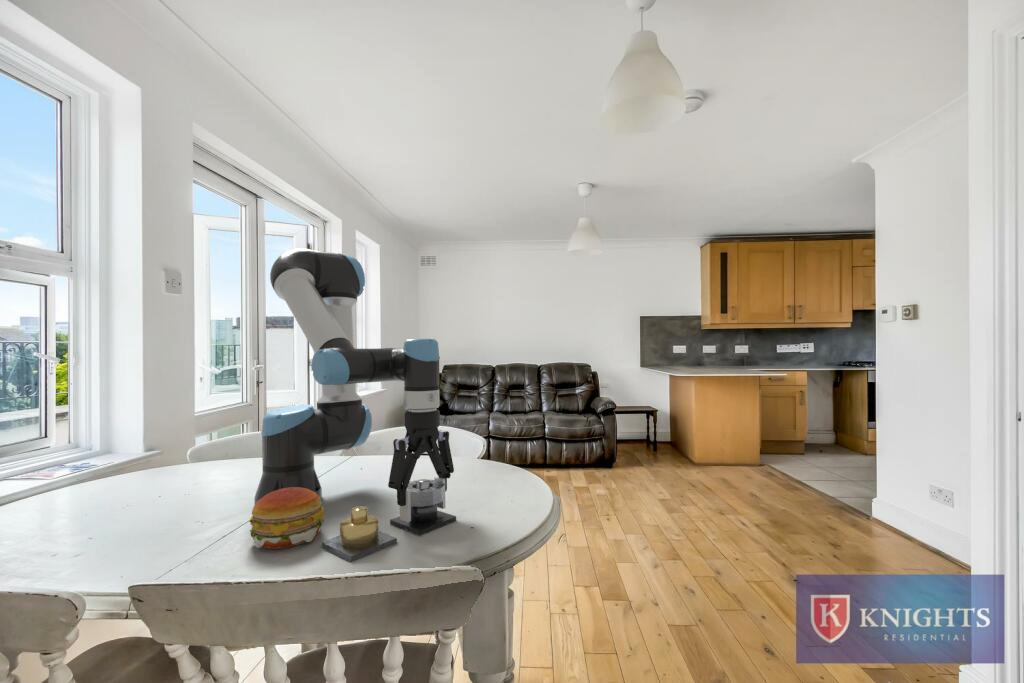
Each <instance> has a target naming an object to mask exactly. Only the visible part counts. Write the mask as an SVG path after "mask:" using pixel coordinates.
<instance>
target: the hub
mask: <svg viewBox="0 0 1024 683" xmlns="http://www.w3.org/2000/svg"><path fill="white" fill-rule="evenodd" d="M368 512H369V511H368V506H365V505H360V506H359V505H358V506H355V507H352V508H351V509H350V516H351V517H347V518H345V519H343V520H342V521H340V524H339V532H340V533H339V535H337V536H335V537H332V538H330V539H326V540H324V541H321V548H322V549H324V550H326V551H327V552H330V553H332V554H334V555H336V556H337V557H340V558H342V559H344V560H345V561H348V562H350V563H352V562H354V561H357V560H360V559H361V558H362V559H363V558H364V557H367V556H369V555H372V554H374V553H376V552H379V551H381V550H383V549H386V548H388V547H391V546H393V545H396V544H398V537H396V536H393V535H391V534H388V533H386V532H383V531H382V530H379V518H378V517H377V516H374V515H370V514H369V513H368Z"/></svg>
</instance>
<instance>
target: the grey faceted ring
mask: <svg viewBox="0 0 1024 683" xmlns="http://www.w3.org/2000/svg"><path fill="white" fill-rule="evenodd" d="M417 480H418V479H417ZM417 480H411V481H410V482H409V484H408V487H407V489H410V490H411V506H413V507H424V506H431V505H435V504H438V503H440V502H442V501H443V500H444V499H445V500H446V491H445V484H444V483H443V482H441V481H437V480H435V479H429V480H430V488H425V489H417V488H416V481H417Z"/></svg>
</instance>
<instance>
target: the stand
mask: <svg viewBox="0 0 1024 683" xmlns="http://www.w3.org/2000/svg"><path fill="white" fill-rule="evenodd" d="M430 480H431V479H426V478H422V479H421V478H420V479H417V481H416V480H415V481H416V488H417V489H425V488H430ZM455 522H457V516H456V515H453V514H450V513H447V512H443V511H441V510H438V507H437V504H435V505H431V506H424V507H413V506H411V521H410V522H406V521H403V520H400V515H399V516H397V517H394V518H391V519H389V525H390V526H393V527H396V528H399V529H402V530H404V531H406V532H410V533H412V534H414V535H418V536H420V537H421V536H424V535H425V534H428V533H430V532H433V531H435V530H438V529H440V528H443V527H445V526H448V525H450V524H452V523H455Z"/></svg>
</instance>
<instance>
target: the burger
mask: <svg viewBox="0 0 1024 683" xmlns="http://www.w3.org/2000/svg"><path fill="white" fill-rule="evenodd" d="M322 501H323V500H322V498H320V497H319V496H318V495H317V494H316V492H313V491H311V490H309V489H306V488H301V487H289V488H283V489H279V490H276V491H273V492H271V493H269V494H267V495H265V496H264V497H262V498H261V499H260V500H259V501H257V503H256V504H255V505H253V507H252V511H251V517H249V518H250V519H249V523H250V526H252V527H251V529H250V530H249V532H250V536H251V537H252V539H253V543H254V544H255V548H257V549H259V548H264V549H273V550H274V549H283V548H285V549H286V548H290V547H294V546H298V545H302V544H304V543H310V542H312V541H313V539H314V538H315V537H316V536H317V535H318V534H319V532H320V530H321V527H322V526H323V520H324V519H325V518H324V516H325V514H324V507H323V506H322Z"/></svg>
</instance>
